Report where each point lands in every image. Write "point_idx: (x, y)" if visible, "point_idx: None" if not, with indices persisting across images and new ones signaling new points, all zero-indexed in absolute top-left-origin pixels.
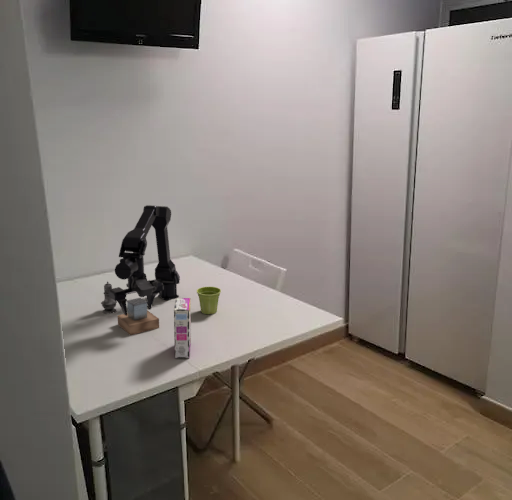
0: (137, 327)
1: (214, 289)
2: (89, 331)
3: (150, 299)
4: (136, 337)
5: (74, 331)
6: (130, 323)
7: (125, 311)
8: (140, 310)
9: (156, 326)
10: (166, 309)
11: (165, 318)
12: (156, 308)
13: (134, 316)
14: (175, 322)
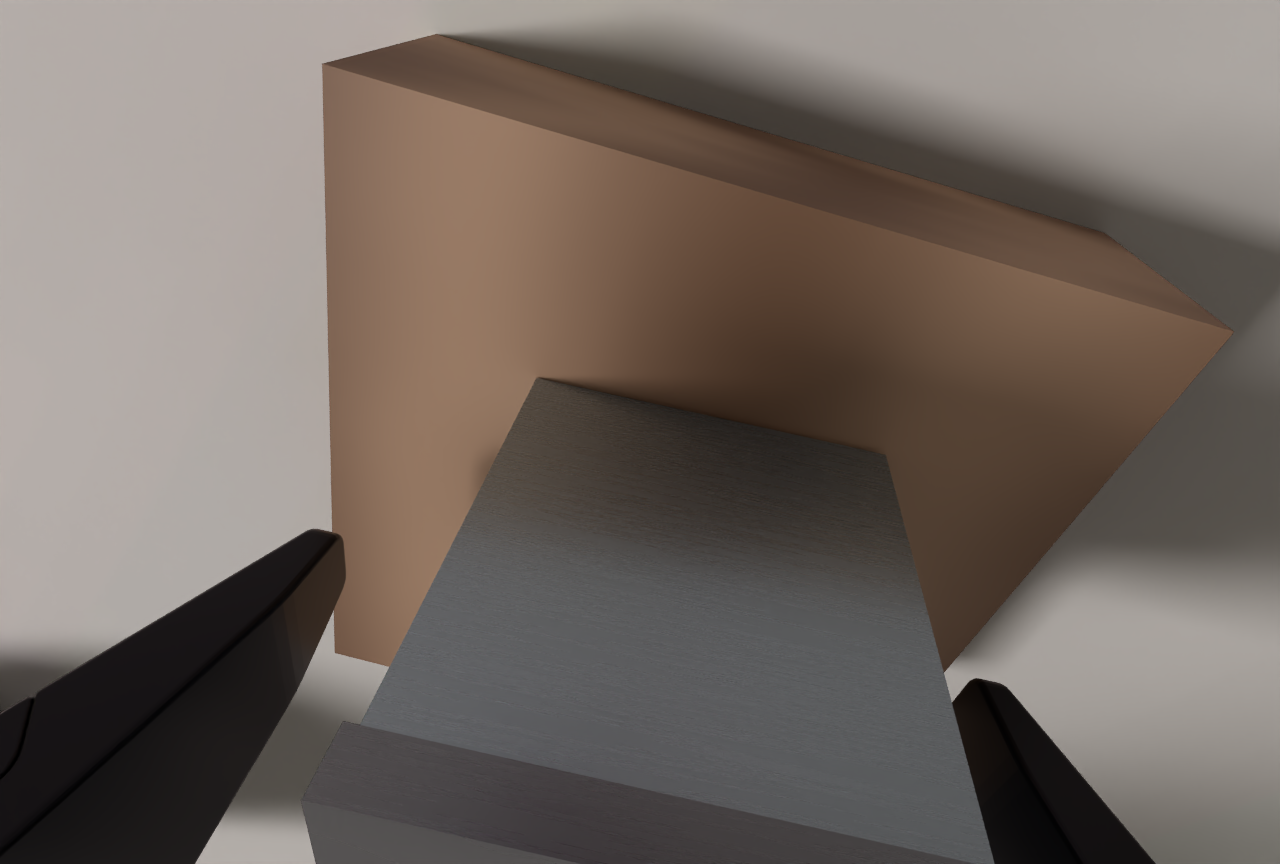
0: (980, 230)
1: None
2: (1212, 744)
3: (72, 818)
4: (1178, 4)
5: (1275, 834)
6: (1078, 417)
7: (1089, 804)
8: (701, 593)
9: (488, 61)
10: (24, 522)
11: (138, 305)
12: (146, 621)
13: (903, 531)
14: None
